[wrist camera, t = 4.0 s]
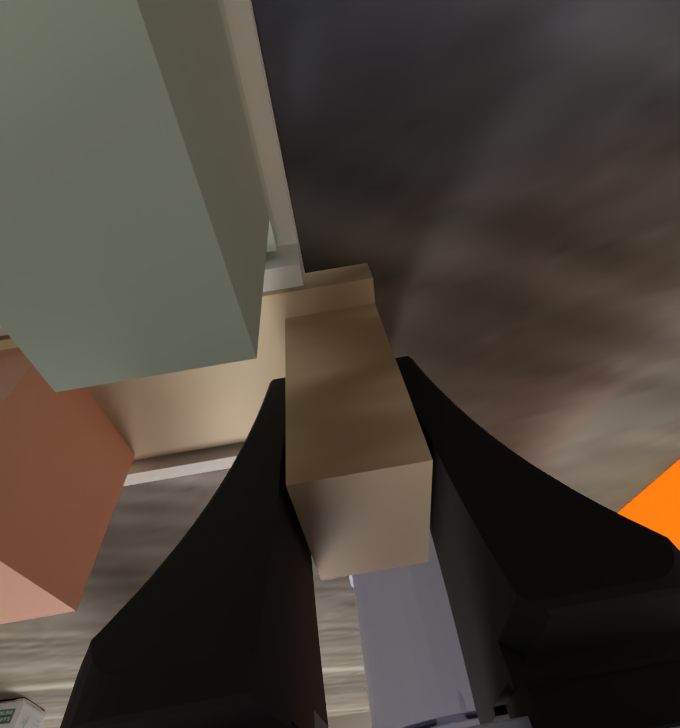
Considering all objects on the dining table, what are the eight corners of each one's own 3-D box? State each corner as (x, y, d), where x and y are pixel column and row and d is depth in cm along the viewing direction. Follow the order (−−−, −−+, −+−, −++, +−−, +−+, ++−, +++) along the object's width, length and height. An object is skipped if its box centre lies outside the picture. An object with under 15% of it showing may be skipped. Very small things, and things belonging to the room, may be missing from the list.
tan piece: (366, 262, 11) (434, 430, 6) (378, 398, 15) (427, 575, 10) (-110, 342, 11) (-438, 579, 6) (16, 460, 15) (-125, 672, 10)
